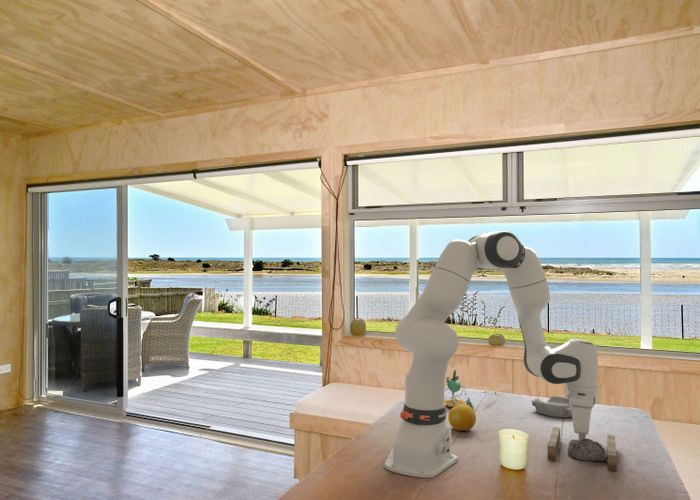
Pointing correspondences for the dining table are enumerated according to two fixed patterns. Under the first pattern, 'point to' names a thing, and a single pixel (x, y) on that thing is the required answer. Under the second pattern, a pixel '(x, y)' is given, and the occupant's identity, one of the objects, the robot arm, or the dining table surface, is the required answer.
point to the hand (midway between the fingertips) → (582, 440)
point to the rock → (586, 450)
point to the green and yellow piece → (454, 387)
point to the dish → (553, 406)
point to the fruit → (462, 417)
